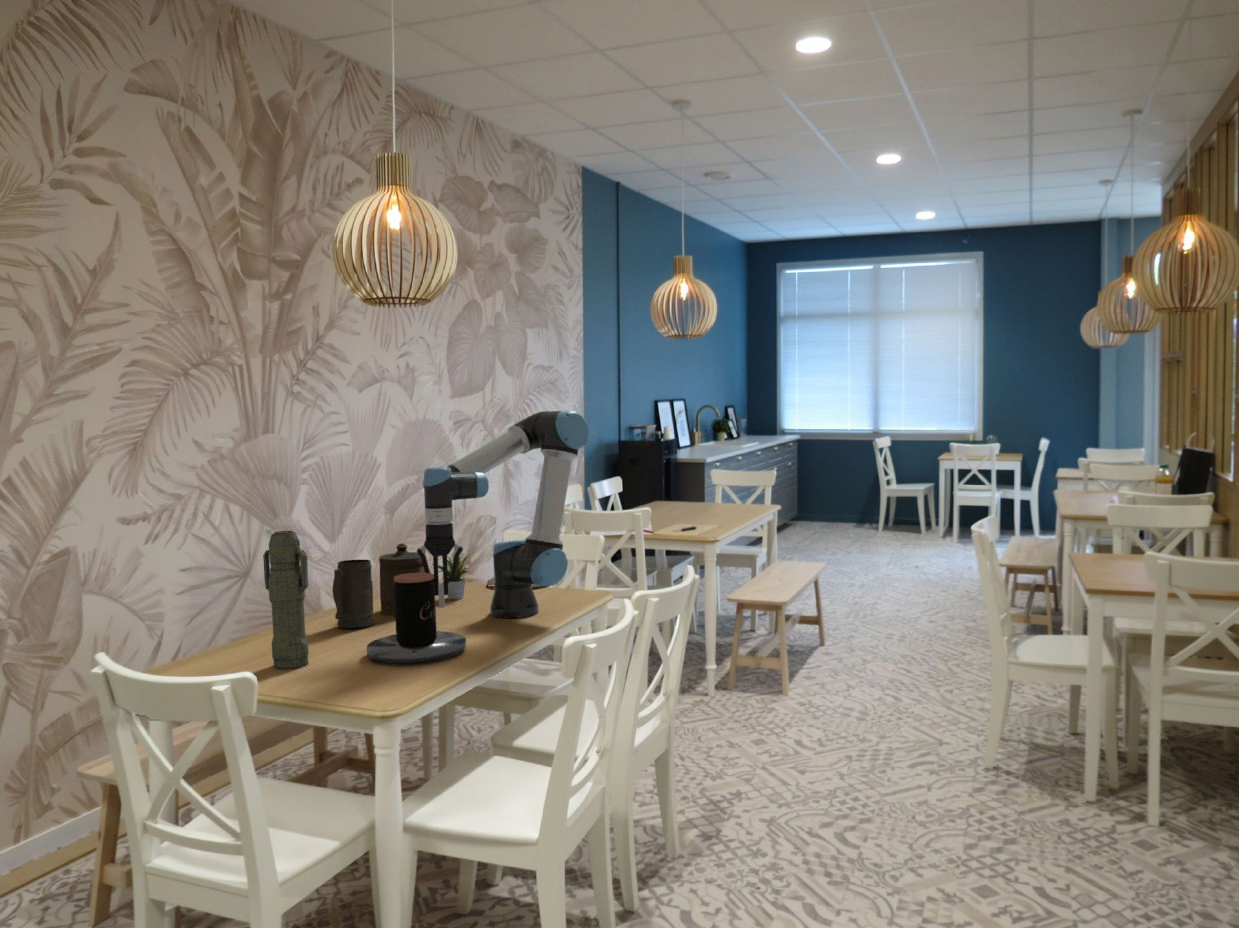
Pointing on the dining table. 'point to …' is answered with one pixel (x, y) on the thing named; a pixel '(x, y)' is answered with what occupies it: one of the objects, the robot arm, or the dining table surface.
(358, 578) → the beer stein
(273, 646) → the thermos
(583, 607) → the dining table surface
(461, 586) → the house plant
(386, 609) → the wooden container
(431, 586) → the coffee jar
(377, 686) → the dining table surface
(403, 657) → the disc
